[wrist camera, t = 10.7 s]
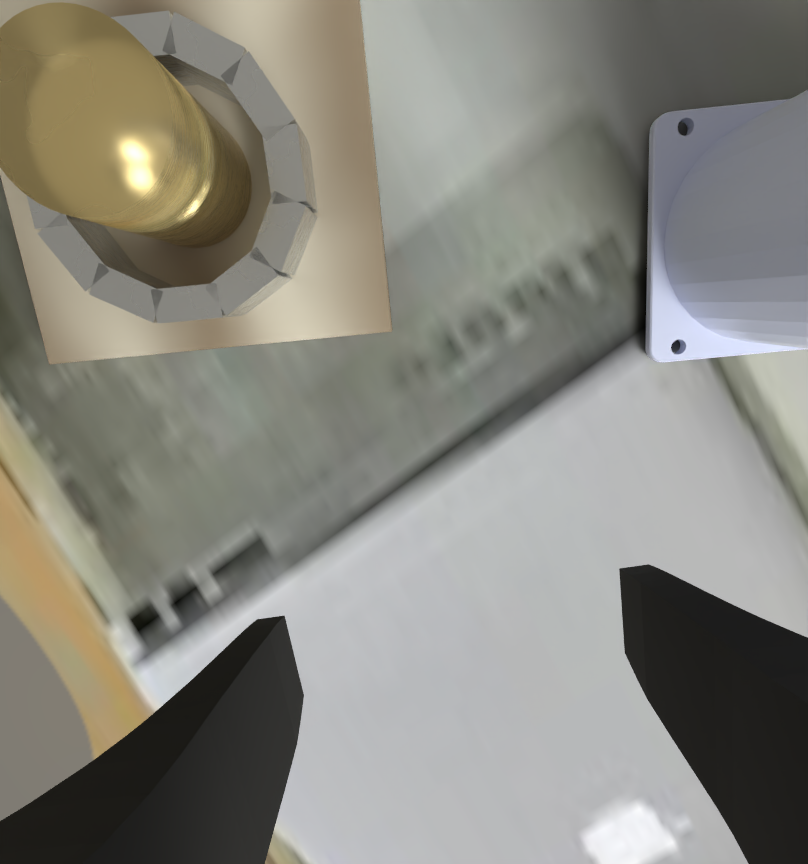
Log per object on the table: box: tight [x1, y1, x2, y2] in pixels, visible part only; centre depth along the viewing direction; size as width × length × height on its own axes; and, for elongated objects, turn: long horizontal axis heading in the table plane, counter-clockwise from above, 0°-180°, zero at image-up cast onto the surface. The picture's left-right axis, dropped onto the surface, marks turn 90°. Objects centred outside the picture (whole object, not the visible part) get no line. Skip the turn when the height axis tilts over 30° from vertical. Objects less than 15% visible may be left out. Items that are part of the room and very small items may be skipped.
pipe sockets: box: [27, 11, 318, 324], centre depth 15 cm, size 8×15×2 cm, turn 5°
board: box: [0, 0, 392, 364], centre depth 16 cm, size 12×20×1 cm, turn 5°
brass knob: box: [0, 2, 252, 248], centre depth 14 cm, size 4×4×6 cm
